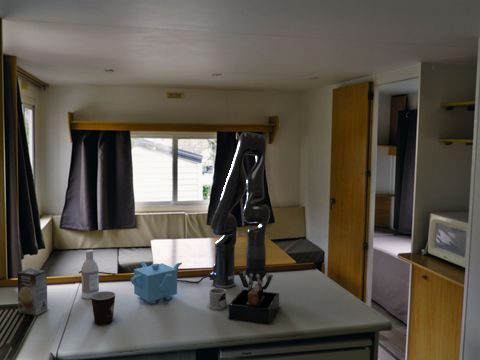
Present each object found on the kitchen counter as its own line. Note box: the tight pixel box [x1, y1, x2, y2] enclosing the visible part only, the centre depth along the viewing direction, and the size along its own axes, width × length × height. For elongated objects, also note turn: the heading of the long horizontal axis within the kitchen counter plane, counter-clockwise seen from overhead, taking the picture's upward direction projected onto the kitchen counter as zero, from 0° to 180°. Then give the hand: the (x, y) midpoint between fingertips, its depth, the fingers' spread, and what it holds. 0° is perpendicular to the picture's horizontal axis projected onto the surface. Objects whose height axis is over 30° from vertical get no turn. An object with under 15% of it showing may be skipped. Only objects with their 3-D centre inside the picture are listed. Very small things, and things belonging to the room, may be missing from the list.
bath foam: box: [80, 249, 100, 300], centre depth 185 cm, size 7×7×20 cm
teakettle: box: [130, 261, 183, 305], centre depth 184 cm, size 19×19×15 cm
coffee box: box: [16, 267, 49, 316], centre depth 168 cm, size 9×6×16 cm
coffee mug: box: [90, 290, 116, 326], centre depth 161 cm, size 12×9×10 cm
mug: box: [208, 287, 227, 311], centre depth 177 cm, size 10×7×7 cm
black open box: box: [228, 288, 280, 325], centre depth 169 cm, size 16×18×6 cm
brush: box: [246, 283, 265, 308], centre depth 169 cm, size 5×12×6 cm, turn 163°
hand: (255, 298), depth 169 cm, fingers closed on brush, 3 cm apart
